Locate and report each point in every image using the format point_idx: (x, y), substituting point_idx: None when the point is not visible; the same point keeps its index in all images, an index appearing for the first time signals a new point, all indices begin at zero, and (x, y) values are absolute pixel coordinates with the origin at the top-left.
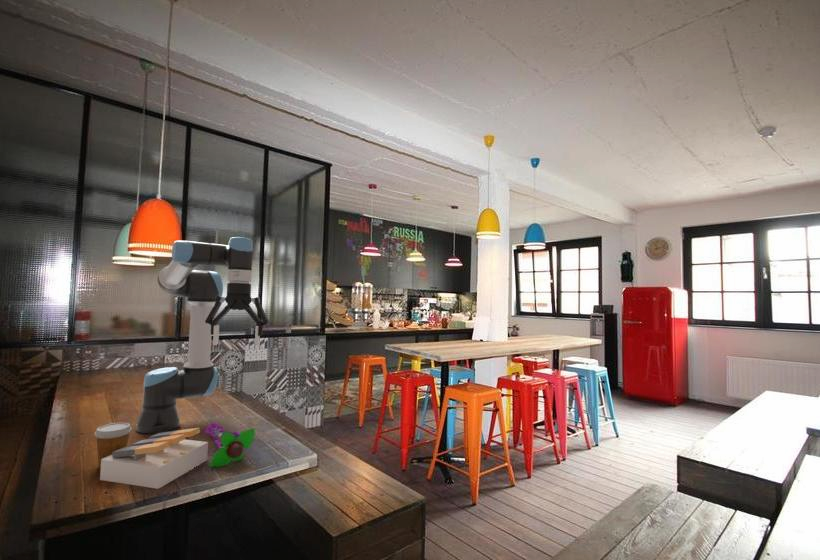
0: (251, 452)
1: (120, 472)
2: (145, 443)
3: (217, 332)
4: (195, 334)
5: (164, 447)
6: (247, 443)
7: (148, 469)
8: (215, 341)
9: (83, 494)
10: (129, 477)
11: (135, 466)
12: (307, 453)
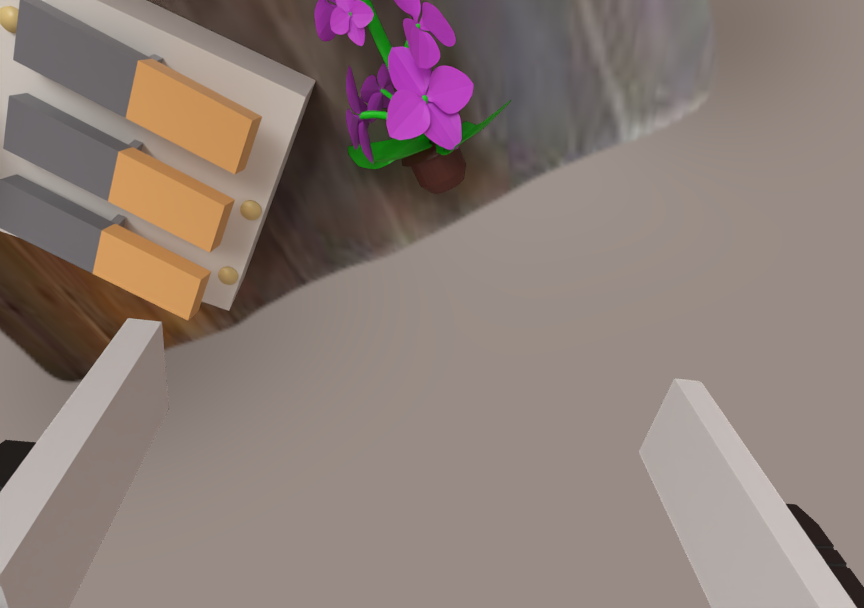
0: (481, 16)
1: None
2: (74, 181)
3: (88, 498)
4: None
5: (203, 291)
6: (478, 127)
7: None
8: (151, 440)
9: (50, 279)
10: None
11: None
12: (709, 70)
